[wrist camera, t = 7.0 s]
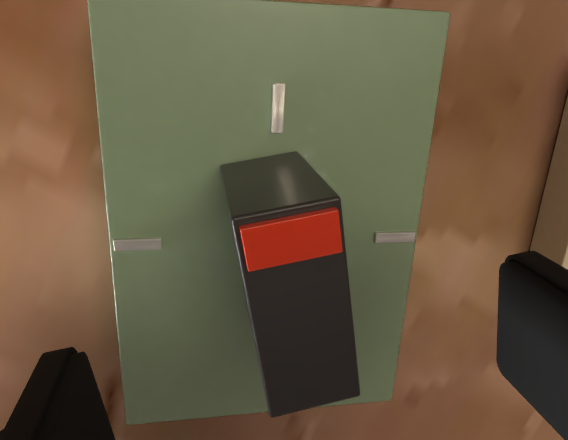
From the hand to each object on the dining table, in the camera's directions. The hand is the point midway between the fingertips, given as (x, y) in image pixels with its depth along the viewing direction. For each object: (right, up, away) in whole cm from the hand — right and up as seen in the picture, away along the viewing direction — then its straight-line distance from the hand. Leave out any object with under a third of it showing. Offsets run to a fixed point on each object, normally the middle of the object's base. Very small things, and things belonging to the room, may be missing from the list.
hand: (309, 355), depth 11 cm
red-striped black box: (-1, +2, +5) cm, 5 cm away
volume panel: (-2, +3, +8) cm, 8 cm away
